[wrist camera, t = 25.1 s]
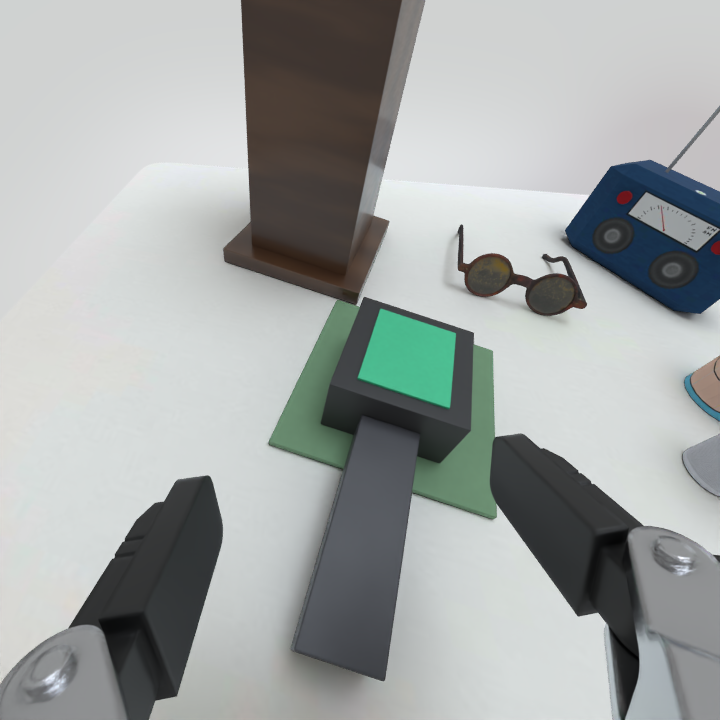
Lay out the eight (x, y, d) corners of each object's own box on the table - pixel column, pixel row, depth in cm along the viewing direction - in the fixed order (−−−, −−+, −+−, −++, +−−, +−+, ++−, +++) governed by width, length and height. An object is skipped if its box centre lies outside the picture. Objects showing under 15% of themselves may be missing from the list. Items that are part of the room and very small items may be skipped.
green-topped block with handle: (418, 693, 16) (466, 709, 12) (240, 633, 16) (231, 630, 12) (448, 371, 30) (475, 330, 26) (352, 339, 30) (364, 294, 26)
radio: (555, 239, 54) (666, 82, 39) (579, 230, 58) (687, 85, 43) (687, 324, 45) (897, 165, 30) (703, 305, 50) (892, 158, 35)
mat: (493, 519, 23) (497, 517, 22) (268, 444, 23) (268, 441, 23) (490, 353, 33) (492, 350, 33) (336, 303, 34) (337, 299, 33)
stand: (356, 305, 34) (565, -512, 10) (224, 261, 34) (117, -648, 10) (386, 231, 45) (523, -252, 21) (285, 198, 45) (304, -320, 21)
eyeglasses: (448, 287, 39) (467, 249, 36) (453, 228, 49) (468, 193, 45) (568, 325, 39) (600, 291, 36) (549, 258, 49) (573, 226, 45)
